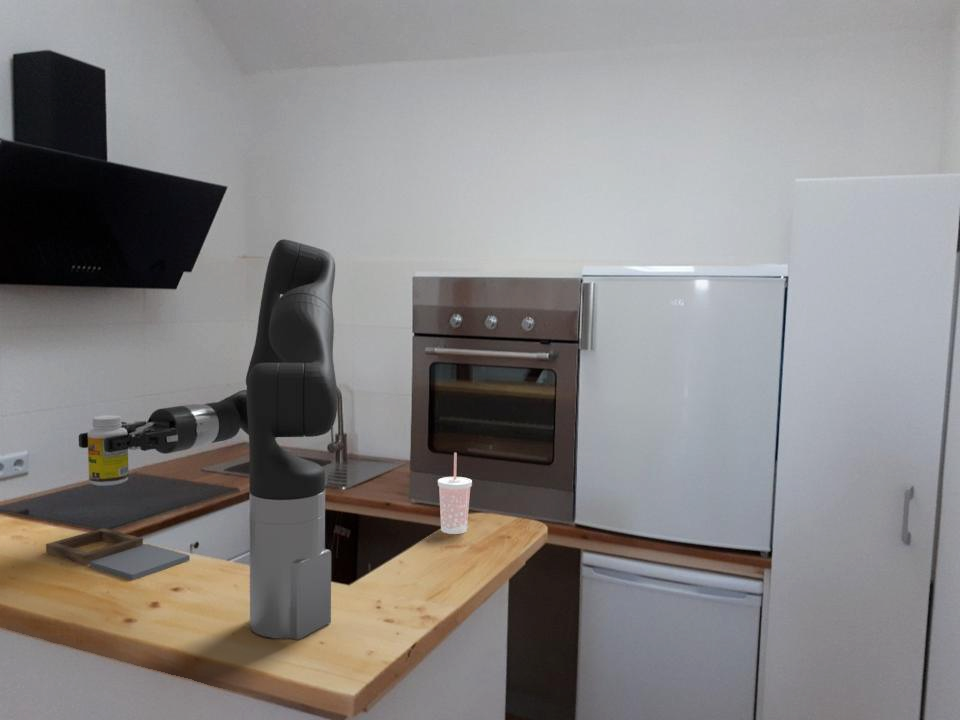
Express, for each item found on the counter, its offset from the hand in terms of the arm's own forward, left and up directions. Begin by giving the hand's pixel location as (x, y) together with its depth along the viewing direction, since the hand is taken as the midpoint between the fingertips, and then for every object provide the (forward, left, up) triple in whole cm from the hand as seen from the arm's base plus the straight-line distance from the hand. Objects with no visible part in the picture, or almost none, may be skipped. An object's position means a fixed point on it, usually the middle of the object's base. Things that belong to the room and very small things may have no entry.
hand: (93, 443), depth 119 cm
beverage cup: (-37, -44, -19) cm, 61 cm away
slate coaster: (-6, -3, -18) cm, 20 cm away
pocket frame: (+5, -3, -18) cm, 19 cm away
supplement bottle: (0, -3, -7) cm, 7 cm away
